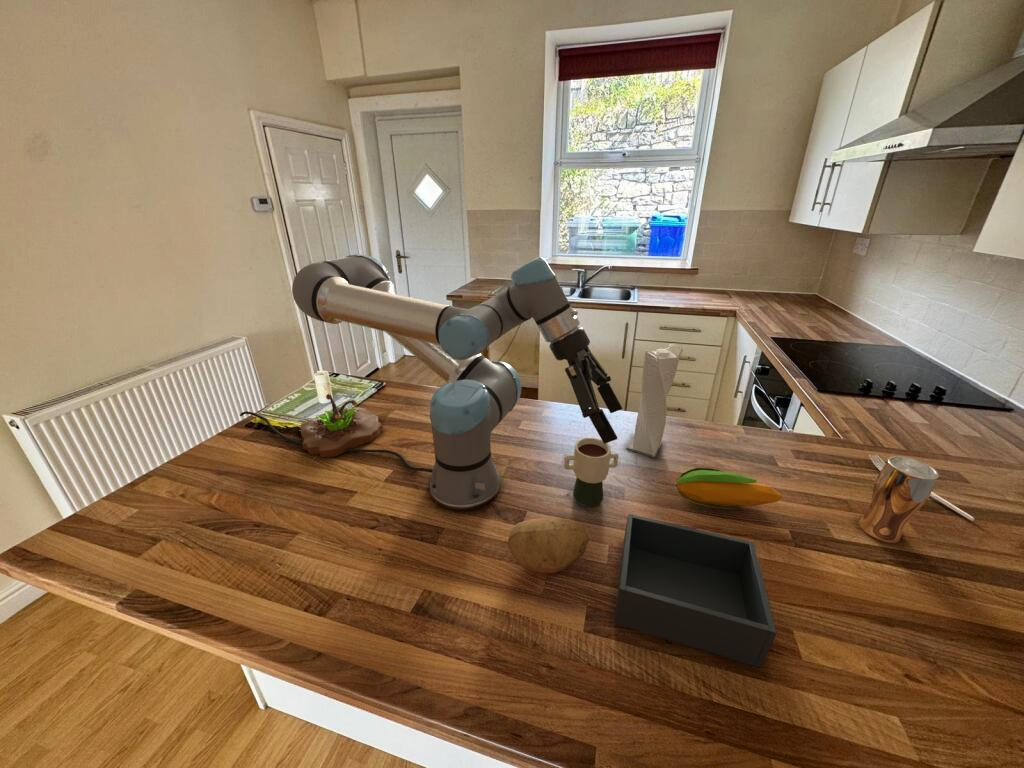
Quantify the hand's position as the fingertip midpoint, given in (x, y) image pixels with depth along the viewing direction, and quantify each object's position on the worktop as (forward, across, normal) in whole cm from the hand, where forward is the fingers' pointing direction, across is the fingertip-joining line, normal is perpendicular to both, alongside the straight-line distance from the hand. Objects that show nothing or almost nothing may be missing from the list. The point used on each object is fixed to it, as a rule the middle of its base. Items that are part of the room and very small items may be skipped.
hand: (613, 424), depth 82 cm
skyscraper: (+16, +18, +1) cm, 24 cm away
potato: (+10, -23, +15) cm, 30 cm away
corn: (+26, +2, -12) cm, 28 cm away
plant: (-25, 0, +68) cm, 72 cm away
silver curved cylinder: (+40, +3, -35) cm, 53 cm away
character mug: (+11, -5, +11) cm, 17 cm away
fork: (+47, +20, -46) cm, 69 cm away
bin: (+22, -24, -3) cm, 32 cm away
